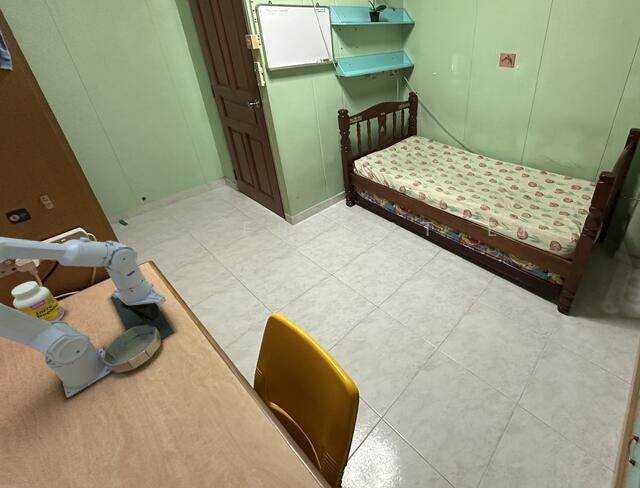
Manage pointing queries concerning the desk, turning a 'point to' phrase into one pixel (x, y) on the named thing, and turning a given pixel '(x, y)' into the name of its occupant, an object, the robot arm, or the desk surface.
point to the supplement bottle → (36, 302)
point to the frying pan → (132, 348)
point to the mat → (133, 320)
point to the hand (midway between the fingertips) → (150, 317)
